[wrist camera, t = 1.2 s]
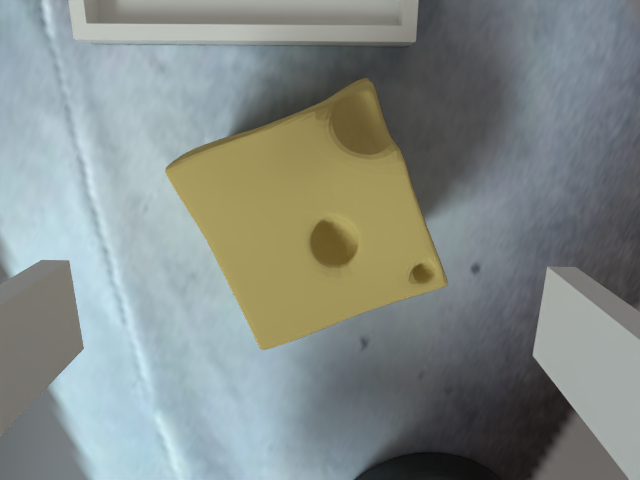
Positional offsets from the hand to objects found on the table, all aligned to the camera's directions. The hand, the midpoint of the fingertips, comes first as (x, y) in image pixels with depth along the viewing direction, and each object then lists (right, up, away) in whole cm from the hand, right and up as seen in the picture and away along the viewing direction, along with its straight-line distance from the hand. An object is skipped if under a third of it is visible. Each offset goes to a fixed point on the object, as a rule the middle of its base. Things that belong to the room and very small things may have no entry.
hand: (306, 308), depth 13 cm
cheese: (0, +5, +18) cm, 18 cm away
